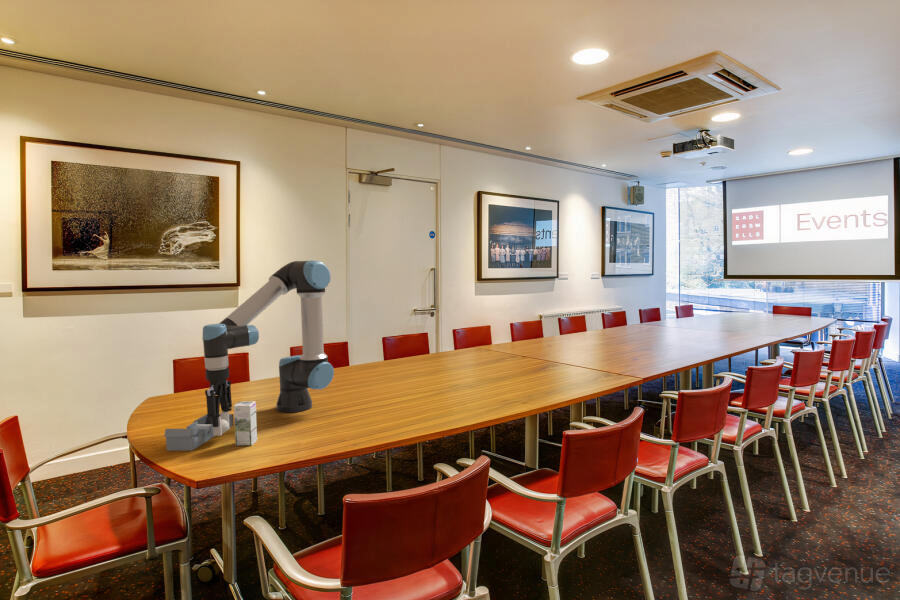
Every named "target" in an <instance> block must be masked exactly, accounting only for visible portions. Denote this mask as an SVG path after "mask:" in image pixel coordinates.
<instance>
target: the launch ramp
mask: <svg viewBox="0 0 900 600" xmlns="http://www.w3.org/2000/svg"><path fill="white" fill-rule="evenodd" d="M163 437H164V438H165V444H166V451H168V452H169V451H174V452H175V451H180V452H181V451H185V452H186V451H189V452H190V451H192V452H193V451H194V450H195V449H197V448H198V447H200V446H202V445H203V444H205V443H206V442H208V441H209V440H211V439H213V438H214V437H215V436H213V424H198V421H196V422H194V421H193V423H190V424H189V425H187V426H186V428H165V429H164V436H163Z"/></svg>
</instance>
